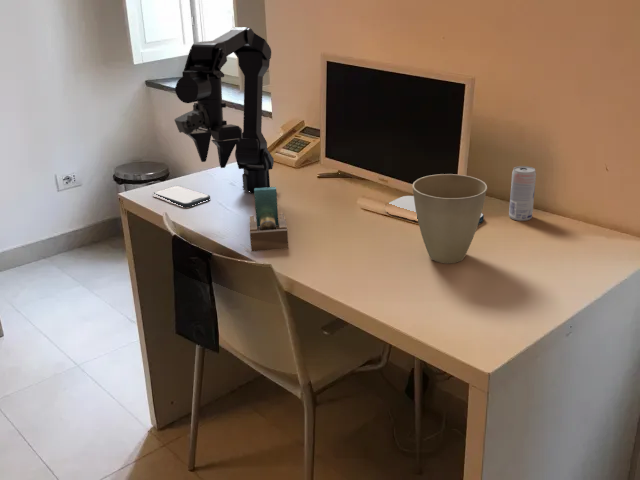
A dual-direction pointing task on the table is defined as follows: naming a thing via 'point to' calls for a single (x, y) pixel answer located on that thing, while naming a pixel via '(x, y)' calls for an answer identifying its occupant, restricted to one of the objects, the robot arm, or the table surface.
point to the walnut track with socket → (269, 236)
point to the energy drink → (522, 193)
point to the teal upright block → (266, 208)
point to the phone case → (182, 196)
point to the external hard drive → (409, 204)
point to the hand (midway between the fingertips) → (213, 164)
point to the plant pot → (448, 213)
